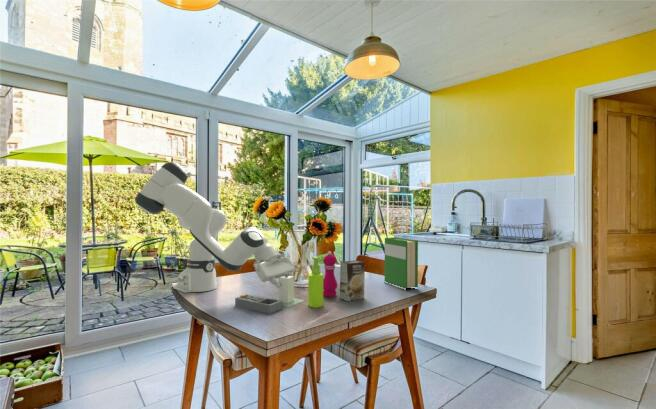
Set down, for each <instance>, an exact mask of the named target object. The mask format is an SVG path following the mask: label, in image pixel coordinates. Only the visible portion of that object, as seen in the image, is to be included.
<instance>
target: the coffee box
mask: <svg viewBox="0 0 656 409" xmlns="http://www.w3.org/2000/svg"><path fill="white" fill-rule="evenodd" d="M339 263H340V267H339V270H340V271H339V299H341V300H343V299H344V301H346V302H351V300H353V301H357V300H356V299H358V300H362V299H361V298H364V299H365V274H366V273H365V271H366V270H365V266H366V262H365V261H361V260H347V261H346V260H344V261H340V262H339Z"/></svg>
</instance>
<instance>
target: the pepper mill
mask: <svg viewBox="0 0 656 409" xmlns="http://www.w3.org/2000/svg"><path fill="white" fill-rule="evenodd" d="M323 257H325V258H324V259H323V258H322V263H323V264H324V265H323V269H324V272H325V273H324V276H323V297H326V298H332V297H334V298H335V297H336V296H337V291H336V290H337V289H338V281H337V279H336V276H335V269H336V265H335V264H336V263H337V257H336V256H335V255H333V254H332V251H330V250H329V251H328V252H327V254H326V255H324V256H323Z"/></svg>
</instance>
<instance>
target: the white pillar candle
mask: <svg viewBox="0 0 656 409" xmlns="http://www.w3.org/2000/svg"><path fill="white" fill-rule="evenodd" d="M294 279H295V276H294V275H293V276H288V273H285V276H282V277H279V278H278V282H280V283H281V284H282V286H281V287H280V288H278V298H279V300H280V301H283V303H290V302H292V301H294V298H295V282H294Z"/></svg>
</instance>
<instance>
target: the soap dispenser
mask: <svg viewBox="0 0 656 409" xmlns="http://www.w3.org/2000/svg"><path fill="white" fill-rule="evenodd" d="M324 258H325V257H324V256H319V255H318V256H313V257H312V258H311V259H312V260H313V265H311V273H309V274H308V293H307V294H308V296H307V297H308V301H307V302H308V304H307V305H308V307H310V308H321V307H323V306H324V296H323V291H324V290H323V279H324V274H323V273H321V265H320V264H319V259H322V260H323V259H324Z"/></svg>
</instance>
